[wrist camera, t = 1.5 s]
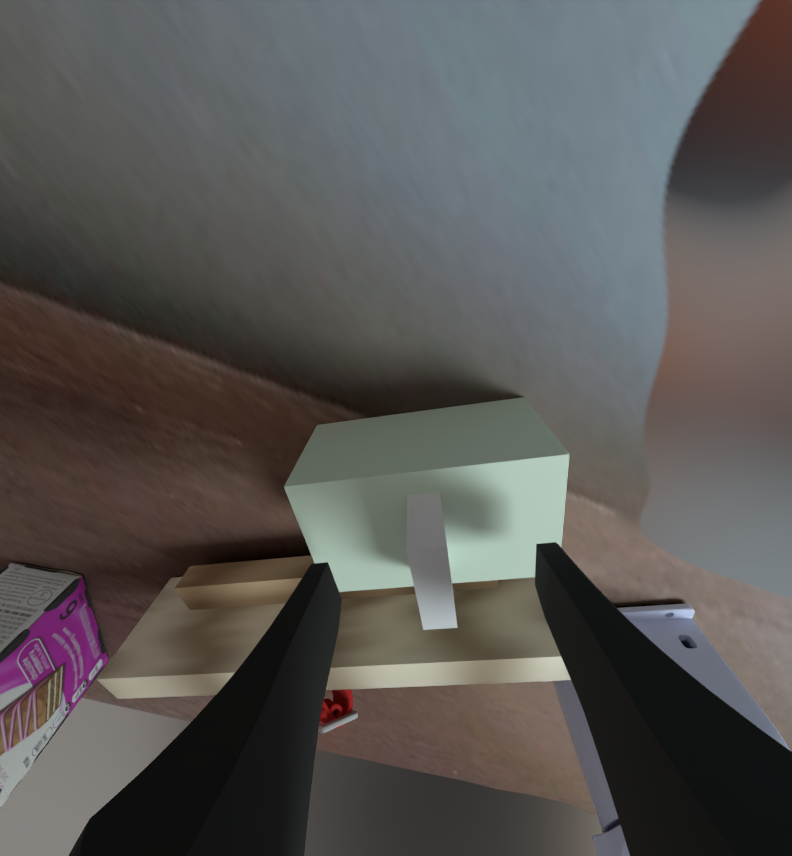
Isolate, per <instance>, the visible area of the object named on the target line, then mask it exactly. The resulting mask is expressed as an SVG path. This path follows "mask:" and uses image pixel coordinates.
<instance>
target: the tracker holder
mask: <svg viewBox="0 0 792 856" xmlns="http://www.w3.org/2000/svg"><path fill="white" fill-rule="evenodd" d="M332 692H333V701H331V700H330V699H324V700H323V705H322V711H321V716H320V722H319V729H318V731H319V732H321V733H325V732H327V731H330V730H332V729H334V728H338V727H341V726H342V725H343V724H345V723H347V722H349V721H352V720H354V719H356V718H357V717H358V713H357V712H356V711H353V710H352V707H353V696H352V692H351V689H344V690H332Z"/></svg>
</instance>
